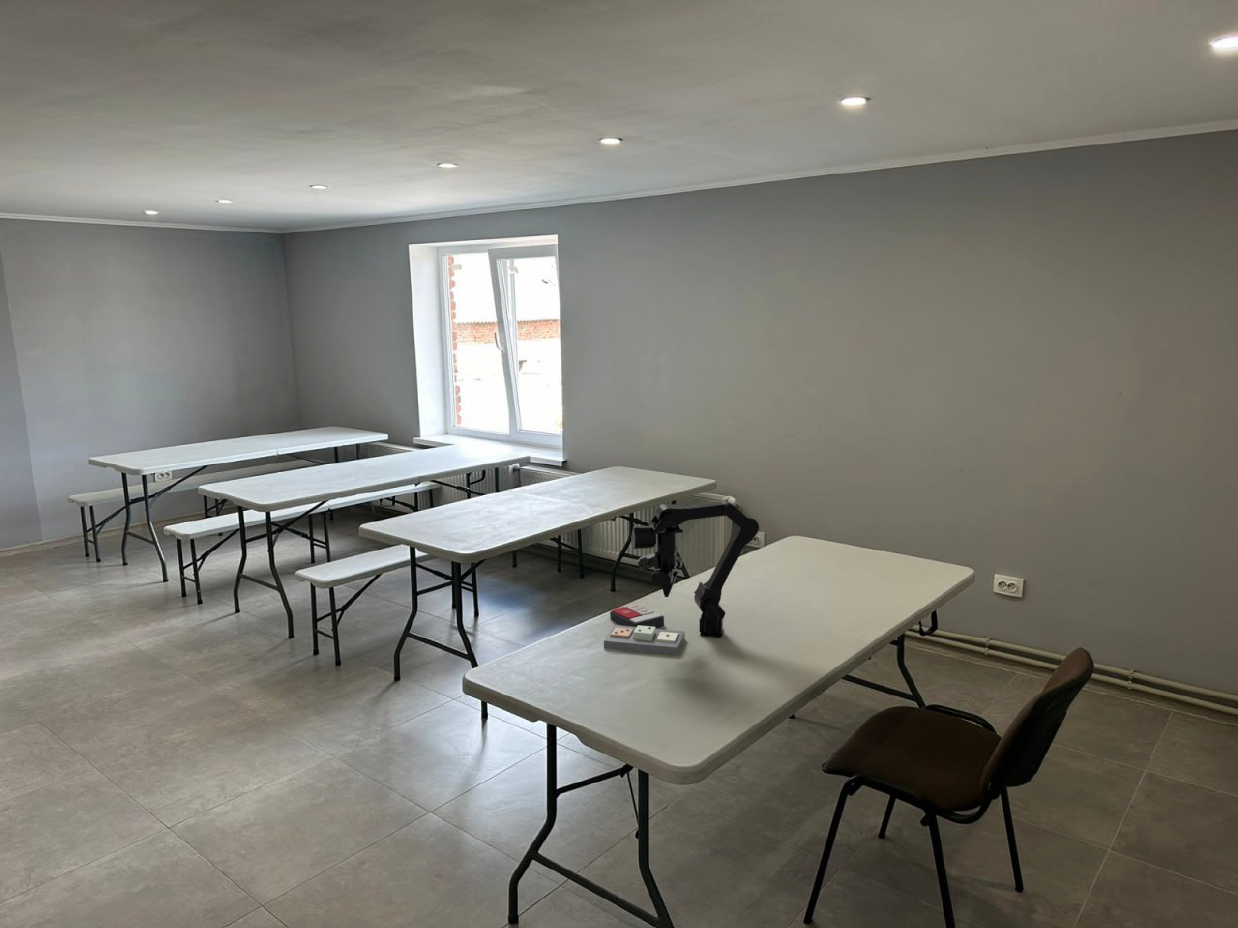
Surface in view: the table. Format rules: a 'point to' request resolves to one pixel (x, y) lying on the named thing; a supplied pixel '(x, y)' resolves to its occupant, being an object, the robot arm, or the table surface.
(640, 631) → the tile
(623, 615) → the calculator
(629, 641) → the console
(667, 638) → the tile
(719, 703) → the table surface
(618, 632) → the tile
